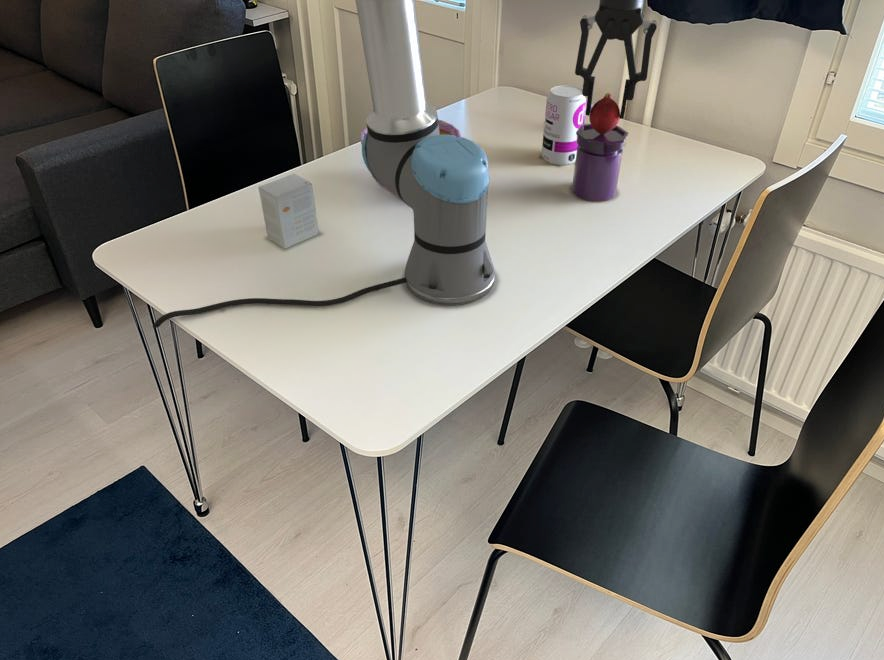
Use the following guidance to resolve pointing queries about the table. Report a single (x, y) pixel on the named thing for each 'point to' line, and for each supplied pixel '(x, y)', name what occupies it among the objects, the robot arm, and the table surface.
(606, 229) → the table surface
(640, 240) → the table surface
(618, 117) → the onion
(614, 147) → the jar
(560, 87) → the supplement can
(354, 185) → the table surface
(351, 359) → the table surface
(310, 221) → the small box
